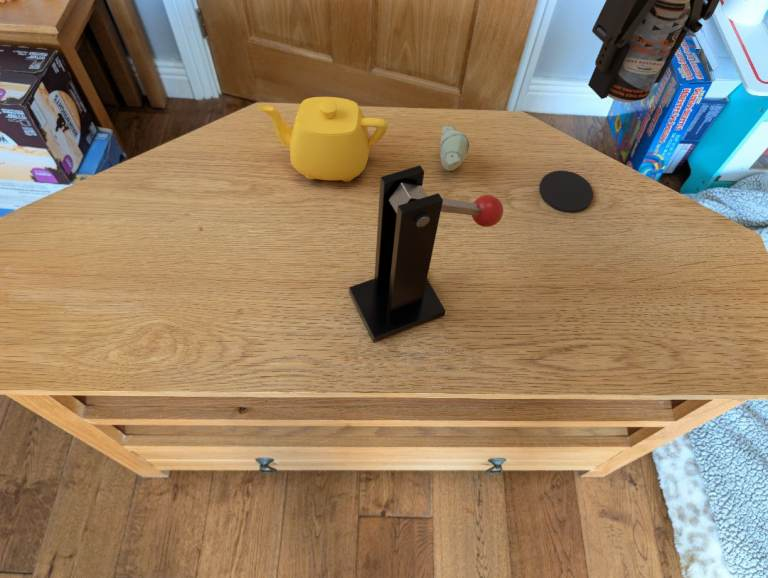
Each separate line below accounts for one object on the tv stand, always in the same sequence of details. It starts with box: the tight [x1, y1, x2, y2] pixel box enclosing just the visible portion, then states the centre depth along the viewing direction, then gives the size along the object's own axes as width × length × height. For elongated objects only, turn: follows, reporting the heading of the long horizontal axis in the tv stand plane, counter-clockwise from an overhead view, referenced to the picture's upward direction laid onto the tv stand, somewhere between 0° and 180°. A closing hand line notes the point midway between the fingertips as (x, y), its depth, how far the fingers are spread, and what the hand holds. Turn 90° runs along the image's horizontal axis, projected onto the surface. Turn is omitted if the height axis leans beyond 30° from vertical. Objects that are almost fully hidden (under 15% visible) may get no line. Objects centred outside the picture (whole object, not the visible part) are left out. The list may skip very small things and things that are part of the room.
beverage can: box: [607, 0, 690, 103], centre depth 62 cm, size 6×7×12 cm
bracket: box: [348, 164, 447, 343], centre depth 63 cm, size 10×8×22 cm
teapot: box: [257, 96, 389, 182], centre depth 81 cm, size 18×11×11 cm, turn 88°
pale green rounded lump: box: [439, 125, 470, 171], centre depth 83 cm, size 8×4×7 cm, turn 3°
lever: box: [389, 183, 504, 228], centre depth 59 cm, size 15×4×4 cm
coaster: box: [538, 170, 594, 214], centre depth 84 cm, size 8×8×1 cm
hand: (623, 83), depth 66 cm, fingers closed on beverage can, 7 cm apart
